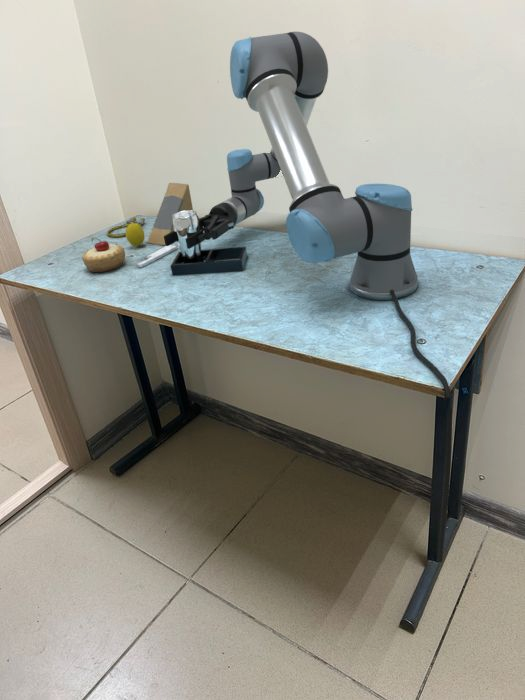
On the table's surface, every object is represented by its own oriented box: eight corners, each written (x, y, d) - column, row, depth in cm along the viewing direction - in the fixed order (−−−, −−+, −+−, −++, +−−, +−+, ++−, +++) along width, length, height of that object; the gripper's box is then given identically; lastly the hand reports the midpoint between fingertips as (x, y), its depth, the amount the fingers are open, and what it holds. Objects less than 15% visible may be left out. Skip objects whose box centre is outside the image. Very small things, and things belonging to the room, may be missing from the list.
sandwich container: (145, 242, 173) (134, 196, 165) (177, 227, 183) (168, 182, 176) (165, 245, 169) (154, 197, 161) (196, 229, 179) (188, 183, 171)
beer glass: (208, 261, 153) (199, 208, 145) (204, 271, 147) (194, 217, 139) (184, 262, 154) (174, 211, 146) (179, 272, 148) (168, 219, 140)
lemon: (128, 246, 172) (122, 221, 168) (145, 242, 173) (140, 218, 169) (130, 251, 168) (123, 226, 164) (147, 247, 169) (142, 222, 165)
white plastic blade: (129, 265, 157) (128, 261, 157) (165, 247, 167) (164, 243, 167) (141, 267, 154) (140, 263, 154) (177, 248, 164) (176, 245, 164)
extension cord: (156, 225, 188) (155, 219, 187) (118, 240, 179) (117, 234, 178) (137, 220, 195) (135, 215, 194) (99, 234, 186) (97, 228, 185)
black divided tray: (242, 270, 144) (241, 260, 143) (172, 275, 147) (170, 265, 145) (247, 256, 153) (245, 246, 151) (180, 261, 155) (178, 251, 154)
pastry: (113, 275, 152) (104, 245, 147) (78, 274, 156) (68, 245, 151) (134, 259, 161) (127, 230, 157) (101, 258, 165) (93, 230, 161)
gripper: (256, 229, 155) (208, 259, 139) (202, 224, 165) (151, 252, 149) (253, 204, 151) (203, 231, 135) (198, 200, 161) (145, 225, 145)
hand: (176, 242), depth 142 cm, fingers closed on beer glass, 7 cm apart
